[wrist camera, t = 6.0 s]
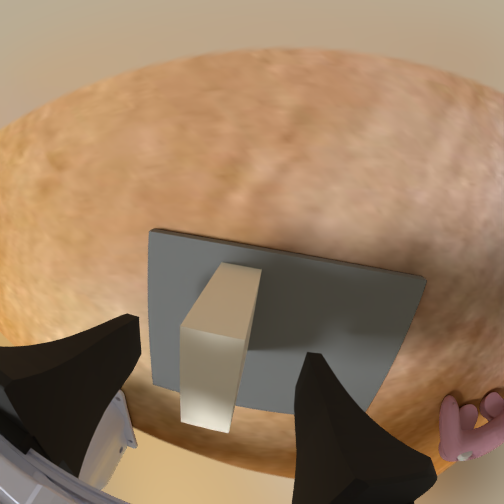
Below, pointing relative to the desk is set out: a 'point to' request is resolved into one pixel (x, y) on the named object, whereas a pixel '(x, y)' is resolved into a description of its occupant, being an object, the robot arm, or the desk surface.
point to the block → (216, 346)
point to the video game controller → (470, 428)
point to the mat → (284, 316)
